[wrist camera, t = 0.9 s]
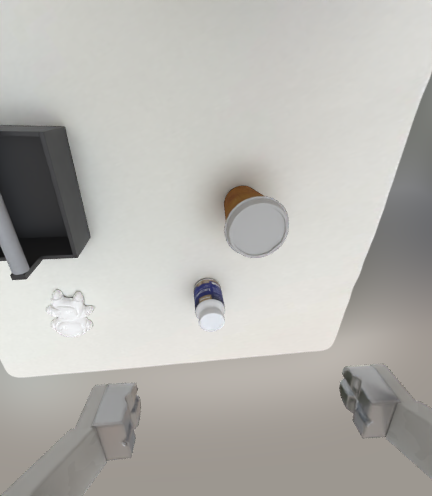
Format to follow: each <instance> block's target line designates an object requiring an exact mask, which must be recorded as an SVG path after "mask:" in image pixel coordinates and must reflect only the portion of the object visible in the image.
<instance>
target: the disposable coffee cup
mask: <svg viewBox="0 0 432 496" xmlns="http://www.w3.org/2000/svg"><path fill="white" fill-rule="evenodd" d="M224 207H225V218H226V223H225V229H224V230H225V237H226V241H227V242H228V244H229V246H230V247H231V248H232V249H233V250H234V251H236V252H237V253H239V254H242V255H243V256H246V257H250V258H259V257H264V256H267V255H269V254H271V253H273V252H274V251H276V250H277V249H278V248H279V247H280V246H281V245H282V244H283V243H284V241H285V239H286V237H287V234H288V229H289V218H288V214H287V211H286V210H285V208H284V207H283V205H282V204H281V203H279V202H278V201H277V200H275V199H273V198H270V197H265V196H263V195H262V194H260V193H259V192H257V191H255V190H254V189H252V188H250V187H248V186H238V187H235V188H233V189H232V190H231V191H230V192H229V193H228V194H227V195H226V197H225V201H224Z"/></svg>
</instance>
